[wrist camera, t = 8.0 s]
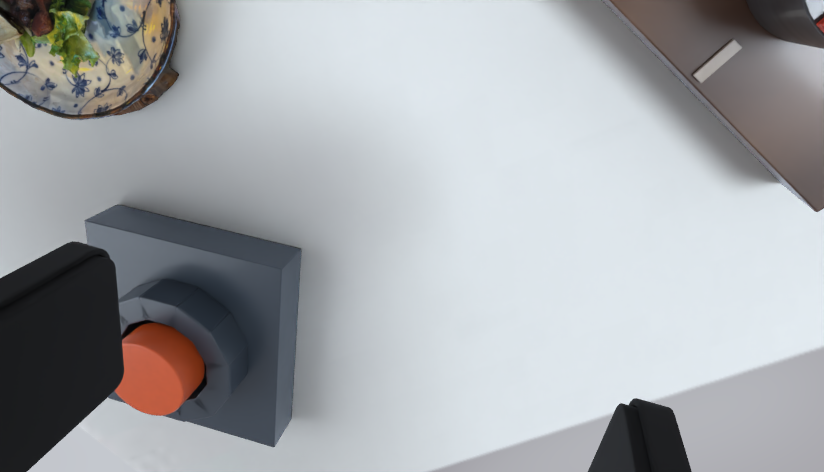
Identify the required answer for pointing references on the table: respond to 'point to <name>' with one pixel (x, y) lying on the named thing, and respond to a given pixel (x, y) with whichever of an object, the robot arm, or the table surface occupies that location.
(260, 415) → the button block
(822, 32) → the timer knob
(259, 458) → the table surface
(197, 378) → the button
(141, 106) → the burger
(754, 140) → the timer panel
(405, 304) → the table surface
